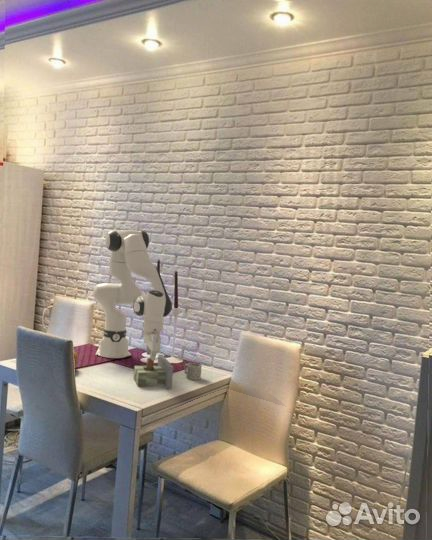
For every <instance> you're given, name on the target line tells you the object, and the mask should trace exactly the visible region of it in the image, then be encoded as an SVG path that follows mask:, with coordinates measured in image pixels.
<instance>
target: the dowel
mask: <svg viewBox="0 0 432 540" xmlns="http://www.w3.org/2000/svg"><path fill="white" fill-rule="evenodd" d="M154 363H155V360H151V356H150V357H146V366H147V367H146V371H153V366H154Z"/></svg>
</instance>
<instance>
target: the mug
mask: <svg viewBox="0 0 432 540" xmlns="http://www.w3.org/2000/svg"><path fill="white" fill-rule="evenodd" d="M183 373H184V374H186V379H187V380H190V381H200V380H201V376H202V364H201V363H198V362H189V363H185V364H184V368H183Z"/></svg>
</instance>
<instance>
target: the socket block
mask: <svg viewBox="0 0 432 540" xmlns="http://www.w3.org/2000/svg"><path fill="white" fill-rule="evenodd" d="M146 367H147V365H134V366H133V381H134V382H135V384H136V386H137V387H139V388H140V387H165V375H166V373H165V371H164V370H163V369H162V368H161V366H158V365H153V371H146Z"/></svg>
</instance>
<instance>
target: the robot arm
mask: <svg viewBox="0 0 432 540" xmlns="http://www.w3.org/2000/svg"><path fill="white" fill-rule="evenodd" d="M149 245H150V237H149V234H148V233H147V232H146V231H145V230H135V229H134V230H133V229H121V230H116V229H114V230H109V231H108V232H107V233H106V237H105V246H106V248H107V250H109V251H110V256H109V269H108V272H109V274H110V276H111V277H113V278H114V279H116V280H117V281H119V283H112V282H111V283H109V282H104V283H98V284H96V286H94V288H93V291H92V295H93V298H94V300H95V301H96V302H97V304H99V305H100V306H101V308H102V310H103V312H104V318H105V322H104V329H103V337H102V338H101V339H100V340H99V341H98V346H99V347H98V348H97V350H96V352H95V356H97V355H98V356H99V357H103V358H107V359H123V358H127V357H130V356H132V354H131V352H129V340H128V338H127V333H128V332H127V315H126V314H125V313H124V312H123V311H122V310H120V309H118V308H117V307H116V305H125V306H126V305H127V306H128V305H129V306H130V305H132V309H133V312H134V313H135V314H136V316H138V317H144V318H143V322H142V331H143V342H144V344H145V345H146V355H148V356H150V358H151V360H154V361H155V360H156V356H157V353H160V352H161V342H162V341H161V338H162V337H161V335H160V334H161V333H162V332H163V330H164V318H165V317H168V316H169V314H171V312H172V310H173V302H172V300H171V297H170V296H169V294H168V292H167V290H166V287H165V284H164V281H163V278H162V276H161V274H160V271H159V269H158V267H157V266H156V265H155V264H154V263H153V262H152V260H151V259H150V256H149V252H148V247H149ZM132 273H133V274H135V275H138V276H140V277H142V278H144V279H147V280H148V281H149V282H150V283H151V286H152V288H153V290H148V291H147V293H146V294H143V292H142V291H143V290H142V289H141V287H140V286H139V285H137V284H136V282H135V281H134V279H133V278H132ZM98 356H97V357H98Z"/></svg>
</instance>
